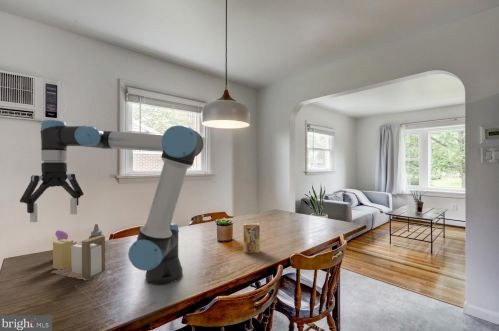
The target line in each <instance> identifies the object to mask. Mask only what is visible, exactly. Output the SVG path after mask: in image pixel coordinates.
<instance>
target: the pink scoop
mask: <svg viewBox="0 0 499 331" xmlns="http://www.w3.org/2000/svg"><path fill="white" fill-rule="evenodd" d="M54 234H55V237H57V241H59V240H62V239H68V238H69V234H68V233H67V232H65V231H64V230H61V229H58V230H56V231H55V233H54ZM68 240H69V239H68ZM77 243H78V242H77V241H73V244H77Z"/></svg>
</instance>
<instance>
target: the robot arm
mask: <svg viewBox="0 0 499 331" xmlns="http://www.w3.org/2000/svg"><path fill="white" fill-rule="evenodd" d="M39 132H40V146H41V147H40V148H41V152H40V155H41V158H40V160H41V161H42V163H41V167H40V169H41V175H36V174H35V175H31V176H30V181H29V183H28V185H27V187H26V189H25V190H24V192H23V194H22V196H21V197H20V200H19V202H20V203H23V204H26V212H27V214H29V222H30V223H38V203H36V201H38V200H39V198H40V197H41V196H42V194H44V192H45V191H46V190H47V189H49V188H50V187H51V188H52V187H53V188H54V187H61V188H63V189H64V190H65V191H66V192H67V193H68V194H69V195H70V196H71V197H70V198H69V200H70V201H69V202H70V204H69V205H70V210H69V211H70V215H77V214H78V210H77V209H78V207H77V206H79V204H80V203H79V199H80V198H81V197H82V196H84V192H83V190H82V188H81V187H80V186H81V185H80V184H79V183H78V181H77V179H76V177H77V176H76V174H75V173H68V174H67V171H68V163H67V161H68V155H67V154H68V149H67V148H68V147H84V148H97V149H103V150H108V149H110V150H127V151H128V150H129V151H144V152H145V151H146V152H161V156H160V158H161V160H162V161H163V165H162V169H161V172H160V176H159V178H158V182H157V186H156V189H155V192H154V195H153V199H152V203H151V206H150V209H149V212H148V213H149V214H148V215H147V216H148V217H147V219H146V223H145V224H144V225H142V226H141V227H140V228H139V232H138V234H137V237H136V238H137V239H136V240H135V241H134V242H133V243H132V244H131V245H130V247H129V249H128V252H127V253H128V260H129V262H131V265H132V266H133V267H134V268H136V270H139V271H145V281H146V283H148V284H149V285H156V286H157V285H158V286H160V285H162V286H163V285H167V284H171V283H173V282H176V281H178V280H179V279H181V278H182V277H183V272H184V271H183V266H182V265H181V264H182V262H181V260H180V257H179V225H178V223H176V222H172V221H173V219H174V214H175V211H176V208H177V204H178V202H179V197H180V194H181V191H182V187H183V184H184V181H185V177H186V173H187V170H188V169H189V168H191V167H193V165H194V161H195V158H196V157H197V156H199V154H201V152H202V151H203V148H204V140H203V137H202V135H201V134H200V133H199V132H198V131H196V130H194V129H193V128H191V127H189V126H187V125H183V124H175V125H172V126H171V127H168V128H167V129H165V131H164V133H151V132H150V133H149V132H131V131H110V130H100V129H97V128H96V127H95V126H91V125H90V126H89V125H77V126H76V125H73V126H71V125H70V126H67V122H65V121H63V120H53V119H46V120H43V121H41V125H40V131H39ZM67 180H68V181H69V183H70V184H69V183H68V181H67ZM40 181H42V182H41V184H40V185H39V187H38V184H39V182H40Z"/></svg>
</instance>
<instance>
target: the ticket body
mask: <svg viewBox="0 0 499 331" xmlns="http://www.w3.org/2000/svg"><path fill="white" fill-rule="evenodd" d="M96 242H97V244H93V243H96ZM105 250H106V235H104V236H97V237H94V238H90V239H89V238H87V239H84V240H81V241H80V242H77V244H73V245H72V246H71V267H72V272H73V273H78V274H82V277H83V278H89V277H91V276H93V275H96V274H98V273H100V272H102V271H104V270H105V268H106V251H105Z"/></svg>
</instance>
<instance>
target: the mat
mask: <svg viewBox="0 0 499 331" xmlns="http://www.w3.org/2000/svg"><path fill="white" fill-rule="evenodd" d="M111 270H112V268H108V267H105V270H104V271H102V272H100V273H98V274H96V275H93V276H91V277H89V278H85V279H87V280H88V281H91V280H92V279H94V278H96V277H98V276H100V275H102V274H105V273H107V272H109V271H111Z"/></svg>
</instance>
